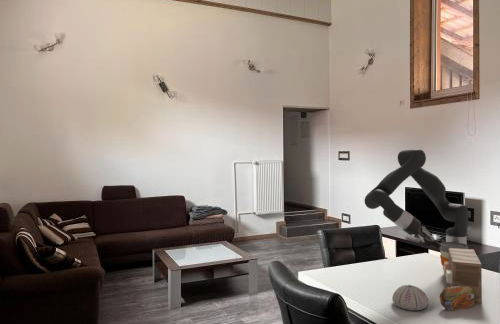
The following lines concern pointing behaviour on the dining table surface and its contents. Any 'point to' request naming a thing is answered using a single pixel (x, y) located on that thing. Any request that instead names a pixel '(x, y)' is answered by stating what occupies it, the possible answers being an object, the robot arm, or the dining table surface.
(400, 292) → the sea urchin shell
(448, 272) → the cream key
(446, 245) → the reusable coffee cup
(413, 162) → the robot arm
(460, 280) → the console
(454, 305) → the tin
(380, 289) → the dining table surface
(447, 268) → the terracotta key
